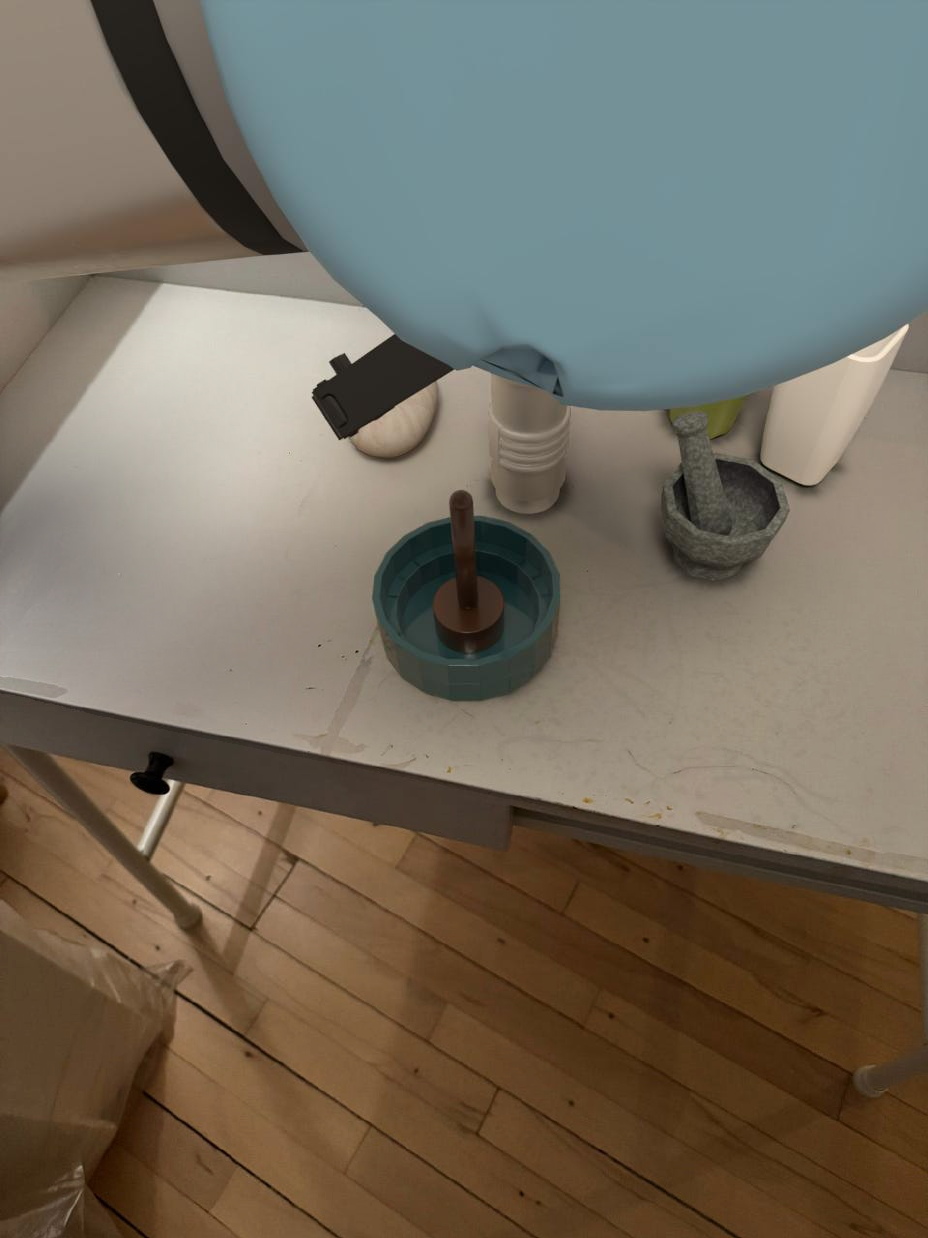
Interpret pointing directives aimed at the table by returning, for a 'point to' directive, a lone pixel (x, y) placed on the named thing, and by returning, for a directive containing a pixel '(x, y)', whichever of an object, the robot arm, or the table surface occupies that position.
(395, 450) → the decorative stone
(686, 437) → the mortar and pestle
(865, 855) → the table surface
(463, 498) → the wooden peg stand
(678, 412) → the plant pot
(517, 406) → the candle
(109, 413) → the table surface
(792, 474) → the cup
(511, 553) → the bowl
